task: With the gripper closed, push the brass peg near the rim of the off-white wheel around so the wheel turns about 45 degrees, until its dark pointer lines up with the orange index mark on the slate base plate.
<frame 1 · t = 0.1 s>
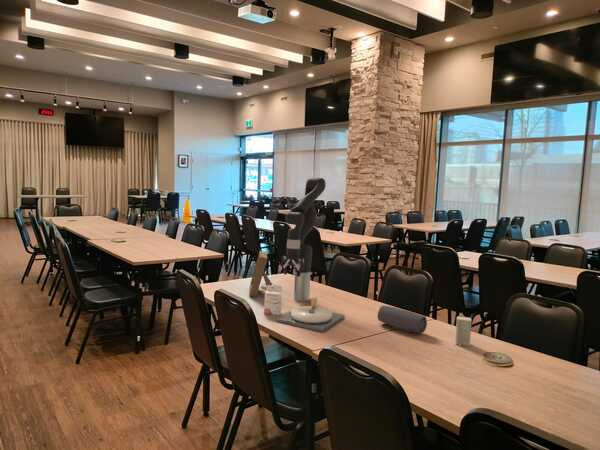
hand: (291, 275, 238), 17 cm above the table, tool pointing down, fingers open, 8 cm apart
bluetooth speaker: (401, 329, 207), on the table
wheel: (311, 309, 215), point 5 cm above the table, hinge at 0.0°
photo frame: (261, 292, 263), on the table
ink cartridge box: (272, 313, 223), on the table
skincare box: (462, 344, 190), on the table
base plate: (311, 319, 215), on the table
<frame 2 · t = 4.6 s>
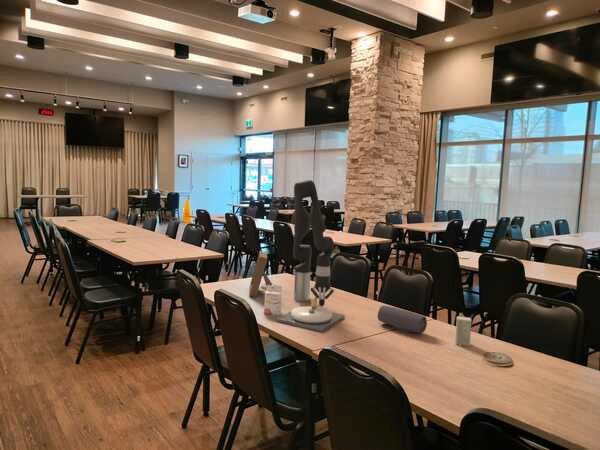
hand: (321, 305, 223), 5 cm above the table, tool pointing down, fingers closed
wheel: (311, 309, 215), point 5 cm above the table, hinge at 0.1°, touching gripper
everything else where it was.
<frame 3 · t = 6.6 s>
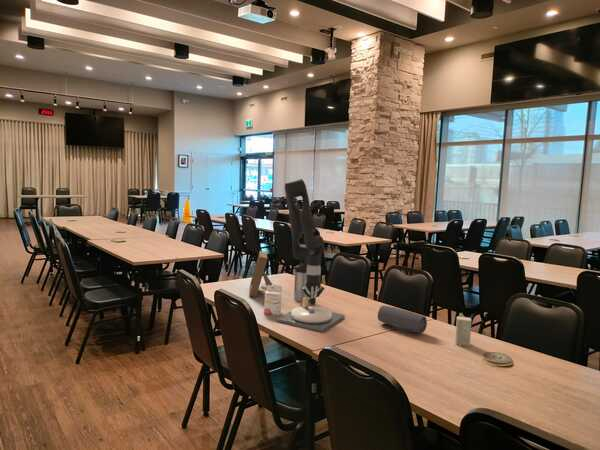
hand: (312, 304, 225), 5 cm above the table, tool pointing down, fingers closed
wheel: (311, 309, 215), point 5 cm above the table, hinge at 30.0°, touching gripper
everything else where it was.
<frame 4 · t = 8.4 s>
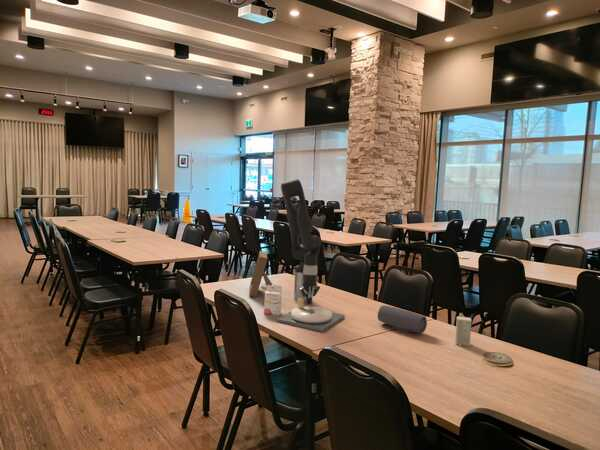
hand: (308, 304, 225), 5 cm above the table, tool pointing down, fingers closed
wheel: (311, 309, 215), point 5 cm above the table, hinge at 48.3°
everything else where it was.
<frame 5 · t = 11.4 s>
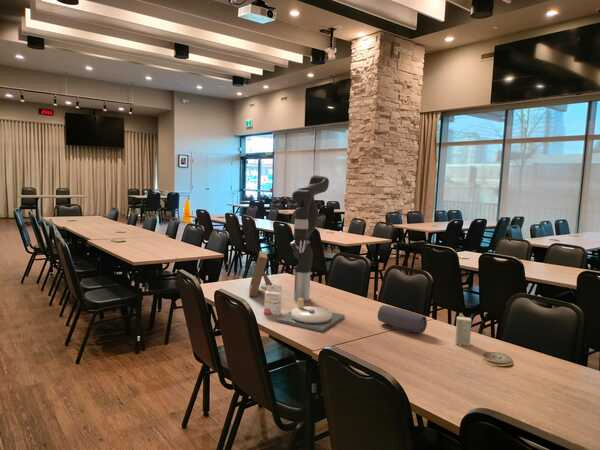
hand: (299, 259, 224), 29 cm above the table, tool pointing down, fingers closed
nothing on the table moved.
at the end: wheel at +48° (first picture: +0°) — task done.
